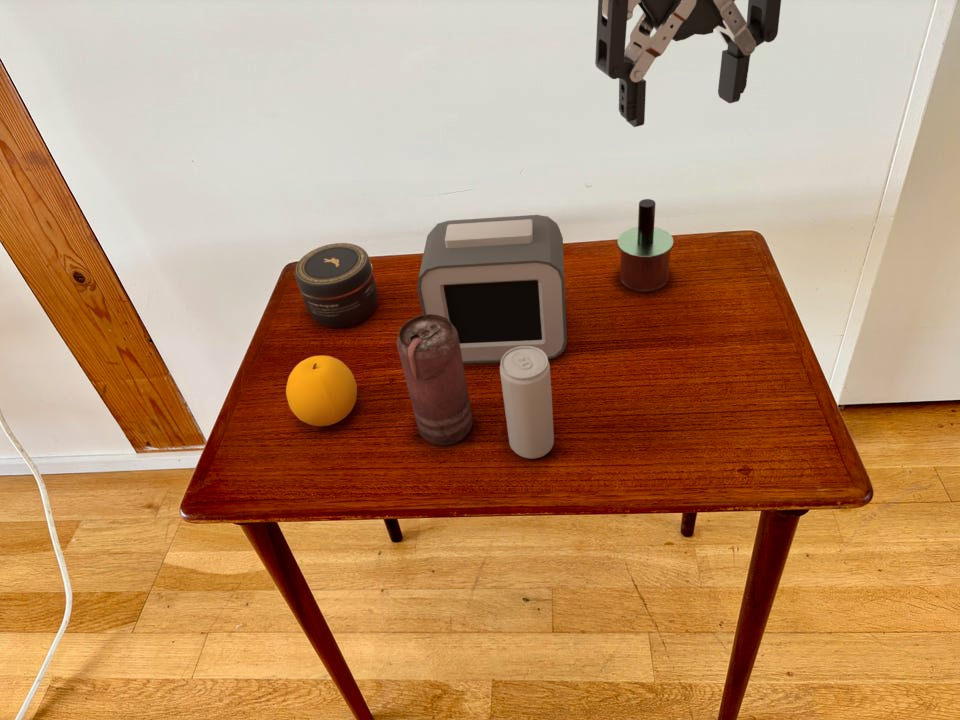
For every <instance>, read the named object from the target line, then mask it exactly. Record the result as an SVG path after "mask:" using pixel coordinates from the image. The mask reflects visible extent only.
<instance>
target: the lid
mask: <svg viewBox="0 0 960 720" xmlns="http://www.w3.org/2000/svg"><path fill="white" fill-rule="evenodd" d="M656 204H657V203H656V201H655V200H654V199H652V198H651V199H650V198H645V199H641V200H640V201H639V202H638V215H637V218H638V219H637V226H635V227H632V228H629V229H627V230H625V231H623V232H622V233H621V234H620V235H619V236H618V238H617V248H618V250H619V252H620V253H621V252H622V253H623V254H625V255H626V256H629V257H631V258H635V259H643V260H648V259H656V258H659V257H662V256H664V255H666V254H668V253H669V252H670V251H672V249H673V247H674V238H673V235H672V234H671V233H669V232H668V231H666V230H665V229H662V228H660V227H655V223H656V222H655V221H656V220H655V219H656V206H657V205H656ZM670 253H671V252H670Z"/></svg>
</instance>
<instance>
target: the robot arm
mask: <svg viewBox="0 0 960 720" xmlns="http://www.w3.org/2000/svg"><path fill="white" fill-rule="evenodd" d="M735 1H736V0H597V2H598V3H597V16H596V17H597V20H596V39H595V60H594V61H595V63H594V64H595V67H596V68H597V69H598V70H600V71H601V72H602V73H603V74H605V75H606V76H608V77H609V78H610V79H612V80H617V79H618V111H619V114H620V116H621V117H622V118H624V119H625V121H626V122H627V123H628V124H630V125H631V126H632V127H633V128H636V127H641V126H644V125H645V120H646V119H645V117H646V96H647V95H646V91H647V80H645V79H644V78H645V76H646V74H647V73H648V71H649V69H650V68H651V67H652V65H653V63H654V61H655V60H656V59H657V58H659V57H661V56H662V55H663V54H664V53H665V51H666V50H667V48H668V46H669V45H670V43H671V41H674V42H680V41H684V40H686V39H689V38H690V37H692V36H695V35H702V36H705V35H709V34H713V33H714V30H716V31H717V33H718V35H719V36H720V38H721V39H722V41H723V43H724V44H725V45H726V46H727V49H724V50H722V51H721V60H720V68H719V69H720V70H719V77H718V87H717V94H718V97H719V98H720V99H722V101H725V102H726V103H728V104H734V103H737V102H740V100H741V94H744V92H745V90H746V88H747V83H748V74H749V68H750V59H751V56H752V54H753V53H754V52H755V50H756V48H757V47H758V46H760V45H761V44H763V43H765V42H766V43H772V42H773V41H774V40H775V39H776V38H777V36H778V33H779V24H780V15H781V5H782V0H747V14H746V19H745V17H744V15H743V14H742V13H741V11H740V9H739V8H738V6H737V5H736V3H735ZM637 5H638V6H639V8H640V9H641V10H642V14H641V15H640V17H639V18H638V21H637V22H636V24H635V25H634V27H633V29H632V31H630V35H629V42H628V44H627V46H626V41H627V27H628V26H627V25H628V21H629V20H631V19H632V18H633V15H634V9H635V8H636V6H637ZM654 29H655V33H654V34H653V35H652V36H651V34H652V31H653V30H654Z"/></svg>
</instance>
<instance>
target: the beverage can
mask: <svg viewBox="0 0 960 720" xmlns="http://www.w3.org/2000/svg"><path fill="white" fill-rule="evenodd" d="M499 374H500V382H501V383H500V384H501V389H502V390H501V391H502V398H503V406H504V411H505V412H504V413H505V418H506V428H507V435H508V443H509V446H510V449H511V450H512V451H513V452H514V453H515V454H516V455H518V456H520V457H521V458H524V459H528V460H531V459H532V460H536V459H539V458H540V459H541V458H542V457H544V456H546V455H547V454H548V453H549V452H550V451H551V450H552V448H553V447H554V444H555V432H554V418H553V417H554V415H553V413H554V412H553V395H552V394H553V393H552V381H551V380H552V379H551V366H550V362H549V359H548V358H547V356H546V354H545V353H544V352H543V351H542V350H540V349H539V348H536V347H533V346H520V347H516V348H513V349H511V350H509V351H508V352H506V353H505V354H504V356H503V357H502V359H501V362H500V365H499Z"/></svg>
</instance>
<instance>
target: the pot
mask: <svg viewBox="0 0 960 720" xmlns="http://www.w3.org/2000/svg"><path fill="white" fill-rule="evenodd" d="M671 251H672V250H671ZM671 251H670V252H669V253H668V254H666V255H664V256H662V257H659V258H656V259H648V260H643V259H635V258H631V257H629V256H626V255H625V254H623V253H622V252H621V251H620V266H619V267H620V271H619V274H620V283H621V284H622V285H623V286H624V287H625V288H626V289H628V290H631V291H633V292H636V293H637V292H638V293H651V292H655V291H659V290H661V289H663V287H665V286H666V285H667V283H668V281H669V277H670V263H671Z"/></svg>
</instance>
